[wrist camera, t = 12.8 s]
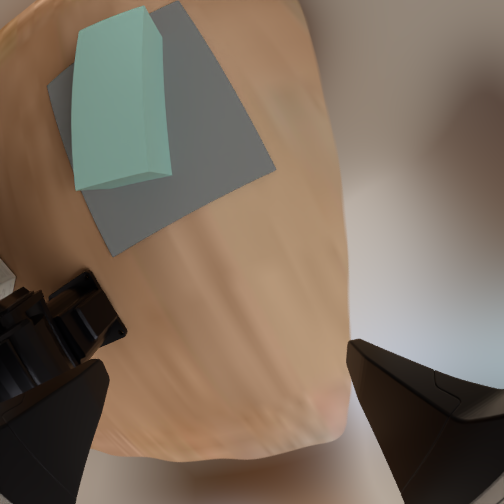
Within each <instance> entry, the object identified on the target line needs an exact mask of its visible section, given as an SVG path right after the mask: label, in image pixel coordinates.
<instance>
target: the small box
mask: <svg viewBox="0 0 504 504" xmlns="http://www.w3.org/2000/svg"><path fill="white" fill-rule="evenodd" d="M15 278H16V276H15V275H14V274H13V273H12V271H11V270H10V269H9V268H8V267H7V266H6V264H5V263H4V262H3V261H2V260H1V258H0V300H1V299H3V298H4V297H6V296H8V295H9V294H11V293H13V288H14V283H15Z"/></svg>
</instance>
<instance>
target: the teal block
mask: <svg viewBox="0 0 504 504" xmlns="http://www.w3.org/2000/svg"><path fill="white" fill-rule="evenodd" d="M71 132H72V157H73V170H74V181H75V190H76V191H79V190H96V189H112V188H117V187H121V186H125V185H129V184H133V183H138V182H142V181H147V180H152V179H157V178H161V177H167V176H172V169H171V161H170V152H169V143H168V132H167V121H166V109H165V94H164V76H163V46H162V36H161V34H160V32H159V31H158V29H157V27H156V25H155V24H154V22H153V20H152V18H151V17H150V15H149V13H148V11H147V10H146V8H145V6H141V7H138V8H135V9H132V10H129V11H126V12H123V13H120V14H118V15H115V16H112V17H110V18H107V19H105V20H103V21H100V22H98V23H96V24H93V25H91V26H89V27H87V28H85V29H83V30H80V31H79V35H78V41H77V48H76V55H75V63H74V73H73V86H72V110H71Z"/></svg>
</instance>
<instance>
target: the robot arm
mask: <svg viewBox="0 0 504 504" xmlns="http://www.w3.org/2000/svg"><path fill="white" fill-rule="evenodd" d="M87 275H88V276H89V278H87ZM43 297H44V295H43V293H42V290H39V291H37V292H35V293H34V291H28V290H27V289H26V288H25V287H22V288H20V289H18V290H16V291H15V292H13V293H11V294H9V295H8V296H6V297H4V298H3V299H1V300H0V504H75V503H76V497H77V494H78V490H79V486H80V482H81V478H82V475H83V471H84V467H85V463H86V460H87V457H88V454H89V450H90V447H91V444H92V441H93V438H94V435H95V432H96V429H97V426H98V423H99V420H100V417H101V414H102V410H103V406H104V402H105V398H106V394H107V390H108V386H109V381H110V379H109V375H108V373H107V371H106V368H105V366H104V364H103V362H102V361H101V360H100V359H90V358H91V357H92V356H93V354H94V353H95V352H96V351H97V349H98V348H100V347H102V346H105V345H107V344H109V343H112V342H114V341H116V340H119V339H121V338H123V337H125V336H126V334H127V329H126V327H125V326H124V324H123V323H122V321H121V320H120V318H119V317H118V315H117V313H116V311H115V310H114V308H113V307H112V305H111V303H110V302H109V300H108V298H107V297H106V295H105V293H104V292H103V290H102V289H101V287H100V285H99V284H98V282H97V280H96V278H95V277H94V275H93V273H92V272H91V271H89V270H87V271H85V272H84V273H82V274H81V275H79V276H78V277H76V278H75V279H73V280H72V281H70V282H69V283H67V284H66V285H64V286H63V287H61V288H60V289H59V290H57V291H56V292H54V293H53V294H51V295H50V296H49V302H47V303H46V302H45V300H44V298H43ZM120 330H122V331H123V333H122V332H121V331H120ZM89 359H90V360H89ZM346 363H347V367H348V370H349V373H350V376H351V379H352V382H353V385H354V388H355V391H356V394H357V397H358V400H359V402H360V405H361V407H362V409H363V411H364V413H365V415H366V417H367V419H368V421H369V424H370V425H371V428H372V430H373V432H374V434H375V436H376V439H377V441H378V443H379V445H380V447H381V449H382V452H383V454H384V456H385V459H386V461H387V463H388V465H389V468H390V470H391V472H392V474H393V477H394V479H395V481H396V484H397V486H398V488H399V491H400V492H401V496H402V498H403V500H404V503H405V504H504V389H496V388H491V387H488V386H484V385H480V384H476V383H472V382H468V381H465V380H461V379H458V378H455V377H452V376H449V375H447V374H444V373H441V372H439V371H436V370H435V371H434V370H433V369H431V368H428V367H426V366H424V365H421V364H419V363H416V362H413V361H411V360H409V359H406V358H404V357H401V356H399V355H397V354H394V353H392V352H390V351H387V350H385V349H383V348H380V347H378V346H375V345H373V344H371V343H369V342H366V341H364V340H362V339H355V340H350V341H349V342H348V345H347V357H346Z"/></svg>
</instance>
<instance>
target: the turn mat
mask: <svg viewBox="0 0 504 504" xmlns="http://www.w3.org/2000/svg"><path fill="white" fill-rule="evenodd" d="M149 15H150V17H151V18H152V20H153V22H154V24H155V25H156V27H157V29H158V31H159V32H160V34H161V36H162V46H163V76H164V94H165V109H166V121H167V132H168V143H169V152H170V161H171V169H172V176H167V177H161V178H157V179H152V180H147V181H142V182H138V183H133V184H129V185H125V186H121V187H117V188H112V189H96V190H81V192H82V194H83V196H84V199H85V201H86V203H87V205H88V208H89V210H90V212H91V214H92V216H93V219H94V221H95V223H96V225H97V227H98V229H99V231H100V233H101V235H102V237H103V239H104V241H105V243H106V245H107V247H108V249H109V251H110V253H111V255H112V256H113V257H115V256H116V255H118V254H119V253H121V252H123V251H124V250H126V249H128V248H129V247H131V246H133V245H134V244H136V243H138V242H139V241H141V240H143V239H145V238H146V237H148V236H150V235H152V234H153V233H155V232H157V231H158V230H160V229H162V228H164V227H166V226H167V225H169V224H171V223H173V222H175V221H176V220H178V219H180V218H182V217H184V216H185V215H187V214H189V213H191V212H193V211H195V210H197V209H199V208H200V207H202V206H204V205H206V204H208V203H210V202H212V201H214V200H216V199H218V198H220V197H222V196H224V195H226V194H228V193H230V192H231V191H233V190H235V189H238V188H240V187H242V186H244V185H246V184H248V183H250V182H252V181H254V180H256V179H258V178H260V177H262V176H264V175H266V174H269V173H271V172H273V171H275V170H276V168H275V166H274V164H273V162H272V160H271V158H270V156H269V154H268V152H267V150H266V148H265V146H264V144H263V142H262V140H261V138H260V136H259V134H258V133H257V131H256V129H255V127H254V125H253V123H252V121H251V119H250V118H249V116H248V114H247V112H246V110H245V108H244V107H243V105H242V103H241V101H240V99H239V98H238V96H237V94H236V92H235V90H234V89H233V87H232V85H231V83H230V82H229V80H228V78H227V77H226V75H225V73H224V71H223V70H222V68H221V66H220V65H219V63H218V61H217V60H216V58H215V56H214V55H213V53H212V51H211V50H210V48H209V47H208V45H207V43H206V42H205V40H204V38H203V37H202V35H201V34H200V32H199V31H198V29H197V28H196V26H195V24H194V23H193V21H192V20H191V18H190V17H189V15H188V14H187V12H186V11H185V9H184V8H183V6H182V5H181V3H180V2H179V1H175V2H173V3H171V4H169V5H166V6H164V7H162V8H160V9H158V10H156V11H154V12H152V13H150V14H149ZM74 63H75V62H74ZM74 63H73V64H71V65H70V66H69V67H68V68H66V69H65V70H64V71H63V72H62V73H60V74H59V75H58V76H57V77H56V78H55V79H54V80H53V81H51V82H50V83H49V84H48V85H47V88H48V93H49V97H50V101H51V104H52V108H53V112H54V115H55V119H56V122H57V126H58V129H59V132H60V135H61V138H62V141H63V144H64V147H65V150H66V153H67V156H68V158H69V161H70V164H71V167H72V169H73V157H72V132H71V110H72V86H73V73H74ZM73 172H74V170H73Z"/></svg>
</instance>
